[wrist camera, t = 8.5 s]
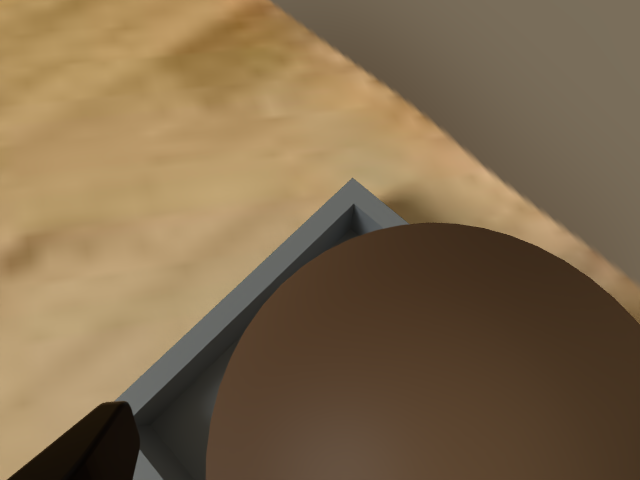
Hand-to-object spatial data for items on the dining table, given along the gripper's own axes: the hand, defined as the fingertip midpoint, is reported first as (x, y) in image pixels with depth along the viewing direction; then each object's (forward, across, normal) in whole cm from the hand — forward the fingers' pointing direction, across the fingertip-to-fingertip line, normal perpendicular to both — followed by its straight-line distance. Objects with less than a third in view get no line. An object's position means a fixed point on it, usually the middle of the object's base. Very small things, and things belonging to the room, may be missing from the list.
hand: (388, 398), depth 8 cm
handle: (+6, 0, +7) cm, 9 cm away
